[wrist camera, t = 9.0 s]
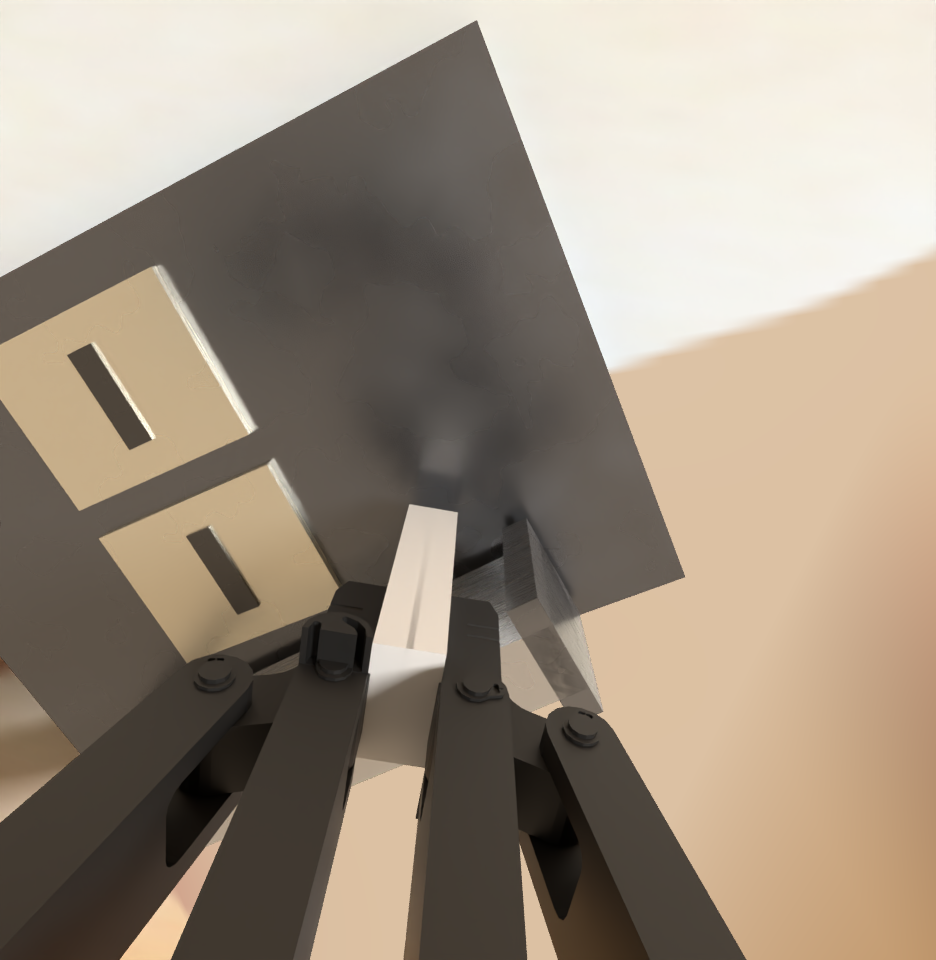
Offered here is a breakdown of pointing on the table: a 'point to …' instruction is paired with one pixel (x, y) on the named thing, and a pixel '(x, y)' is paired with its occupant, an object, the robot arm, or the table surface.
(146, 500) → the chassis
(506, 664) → the brushed metal block
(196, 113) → the table surface
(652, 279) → the table surface
